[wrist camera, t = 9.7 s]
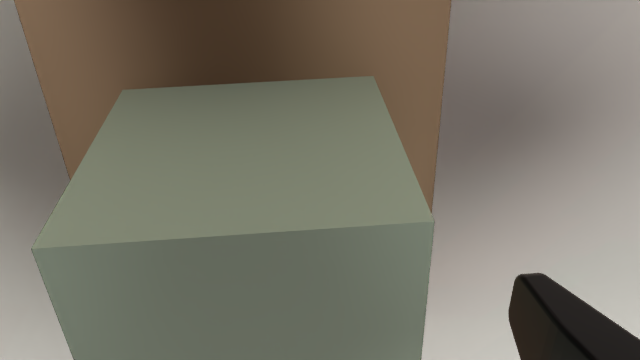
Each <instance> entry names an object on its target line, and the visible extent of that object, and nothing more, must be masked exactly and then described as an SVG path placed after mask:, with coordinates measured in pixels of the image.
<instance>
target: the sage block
mask: <svg viewBox="0 0 640 360" xmlns="http://www.w3.org/2000/svg"><path fill="white" fill-rule="evenodd" d="M434 222H435V221H434V219H433V216H432V214H431V212H430V209H429V207H428V205H427V202H426V200H425V197H424V195H423V193H422V190H421V188H420V186H419V183H418V181H417V178H416V176H415V174H414V171H413V169H412V167H411V164H410V162H409V159H408V157H407V155H406V152H405V150H404V147H403V145H402V143H401V140H400V138H399V136H398V133H397V131H396V128H395V126H394V124H393V121H392V119H391V117H390V114H389V112H388V109H387V107H386V105H385V102H384V100H383V98H382V95H381V93H380V90H379V88H378V86H377V83H376V81H375V79H374V76H362V77H344V78H326V79H308V80H290V81H272V82H254V83H236V84H218V85H200V86H182V87H164V88H146V89H128V90H122V92H121V94H120V95H119V97H118V99H117V101H116V102H115V104H114V106H113V108H112V109H111V111H110V113H109V114H108V116H107V118H106V120H105V121H104V123H103V125H102V127H101V128H100V130H99V132H98V134H97V135H96V137H95V139H94V141H93V142H92V144H91V146H90V147H89V149H88V151H87V153H86V154H85V156H84V158H83V160H82V161H81V163H80V165H79V167H78V168H77V170H76V172H75V173H74V175H73V177H72V179H71V180H70V182H69V184H68V186H67V187H66V189H65V191H64V193H63V194H62V196H61V198H60V200H59V201H58V203H57V205H56V206H55V208H54V210H53V212H52V213H51V215H50V217H49V219H48V220H47V222H46V224H45V226H44V227H43V229H42V231H41V233H40V234H39V236H38V238H37V239H36V241H35V243H34V245H33V246H32V248H31V250H32V253H33V255H34V258H35V260H36V263H37V265H38V268H39V271H40V273H41V276H42V278H43V281H44V284H45V286H46V289H47V291H48V294H49V297H50V299H51V302H52V304H53V307H54V310H55V312H56V315H57V317H58V320H59V323H60V325H61V328H62V330H63V333H64V336H65V338H66V341H67V343H68V346H69V349H70V351H71V354H72V356H73V359H74V360H421V355H422V345H423V335H424V325H425V314H426V304H427V294H428V283H429V273H430V263H431V253H432V242H433V232H434Z"/></svg>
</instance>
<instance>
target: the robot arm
mask: <svg viewBox="0 0 640 360" xmlns="http://www.w3.org/2000/svg"><path fill="white" fill-rule="evenodd" d="M509 322H510V326H511V329H512V332H513V336H514V339H515V342H516V345H517V349H518V352H519V355H520V358H521V360H640V339H638V338H637V337H635V336H634V335H632V334H631V333H629V332H628V331H627V330H625V329H624V328H622V327H621V326H619V325H618V324H616V323H615V322H613V321H612V320H610V319H609V318H608V317H606V316H605V315H603V314H602V313H600V312H599V311H597V310H596V309H594V308H593V307H591V306H590V305H589V304H587V303H586V302H584V301H583V300H581V299H580V298H578V297H577V296H575V295H574V294H572V293H571V292H570V291H568V290H567V289H565V288H564V287H562V286H561V285H559V284H558V283H556V282H555V281H553V280H552V279H551V278H549V277H548V276H546V275H544V274H542V273H531V274H520V275H518V276H517V277H516V279H515V282H514V286H513V291H512V296H511V301H510V306H509Z"/></svg>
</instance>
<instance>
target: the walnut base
mask: <svg viewBox="0 0 640 360" xmlns="http://www.w3.org/2000/svg"><path fill="white" fill-rule="evenodd" d="M14 2H15V5H16V8H17V12H18V15H19V18H20V21H21V24H22V28H23V31H24V34H25V37H26V40H27V44H28V47H29V50H30V53H31V56H32V60H33V63H34V66H35V69H36V72H37V76H38V79H39V82H40V85H41V88H42V92H43V95H44V98H45V101H46V104H47V108H48V111H49V114H50V117H51V120H52V124H53V127H54V130H55V133H56V136H57V140H58V143H59V146H60V149H61V152H62V156H63V159H64V162H65V165H66V168H67V172H68V175H69V178H70V180H71V179H72V177H73V175H74V173H75V172H76V170H77V168H78V167H79V165H80V163H81V161H82V160H83V158H84V156H85V154H86V153H87V151H88V149H89V147H90V146H91V144H92V142H93V141H94V139H95V137H96V135H97V134H98V132H99V130H100V128H101V127H102V125H103V123H104V121H105V120H106V118H107V116H108V114H109V113H110V111H111V109H112V108H113V106H114V104H115V102H116V101H117V99H118V97H119V95H120V94H121V92H122V90H128V89H146V88H164V87H182V86H200V85H218V84H236V83H254V82H272V81H290V80H308V79H326V78H344V77H362V76H374V79H375V81H376V83H377V86H378V88H379V90H380V93H381V95H382V98H383V100H384V102H385V105H386V107H387V109H388V112H389V114H390V117H391V119H392V121H393V124H394V126H395V128H396V131H397V133H398V136H399V138H400V140H401V143H402V145H403V147H404V150H405V152H406V155H407V157H408V159H409V162H410V164H411V167H412V169H413V171H414V174H415V176H416V178H417V181H418V183H419V186H420V188H421V190H422V193H423V195H424V197H425V200H426V202H427V205H428V207H429V209H430V212H431V213H432V203H433V192H434V181H435V170H436V159H437V149H438V138H439V127H440V116H441V106H442V95H443V84H444V73H445V62H446V52H447V41H448V30H449V19H450V8H451V0H14Z"/></svg>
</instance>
